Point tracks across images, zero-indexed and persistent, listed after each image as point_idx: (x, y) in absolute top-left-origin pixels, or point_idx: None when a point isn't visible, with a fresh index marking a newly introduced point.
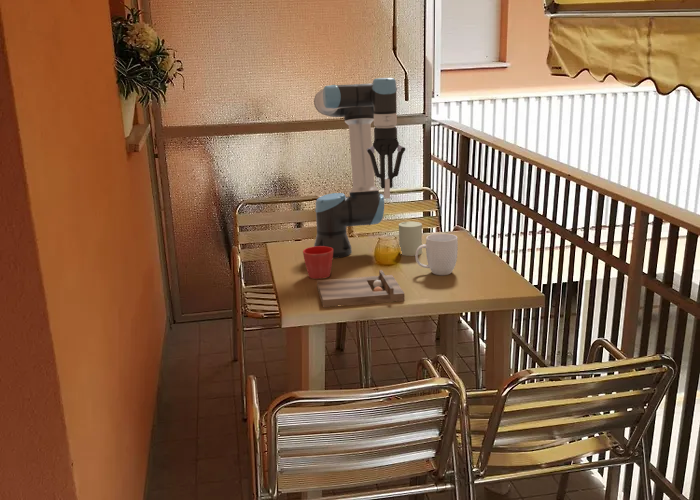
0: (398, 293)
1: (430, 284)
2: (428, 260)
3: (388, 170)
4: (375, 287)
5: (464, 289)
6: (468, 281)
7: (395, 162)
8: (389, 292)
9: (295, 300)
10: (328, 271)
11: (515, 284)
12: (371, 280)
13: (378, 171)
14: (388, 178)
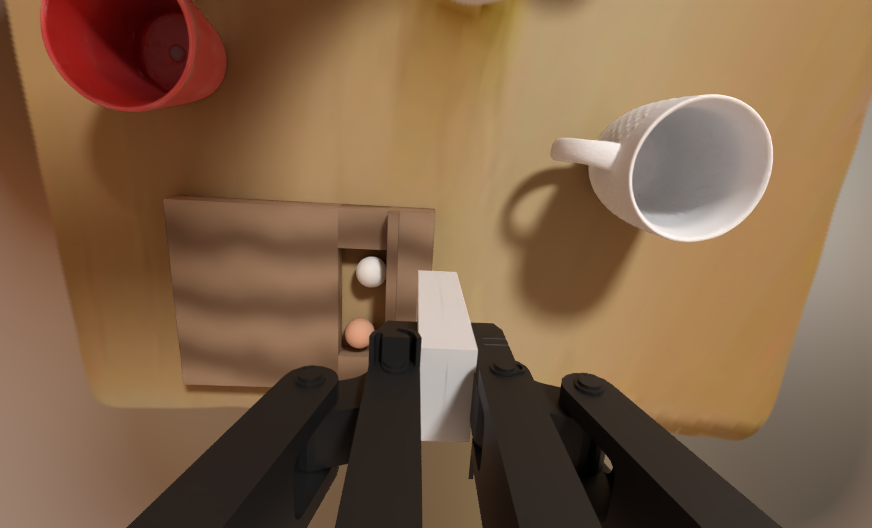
0: None
1: (540, 268)
2: (592, 174)
3: (486, 473)
4: (350, 333)
5: (614, 336)
6: (659, 274)
7: (698, 523)
8: None
9: (109, 296)
10: (209, 91)
11: (765, 335)
12: (354, 248)
13: (307, 520)
14: (467, 405)
